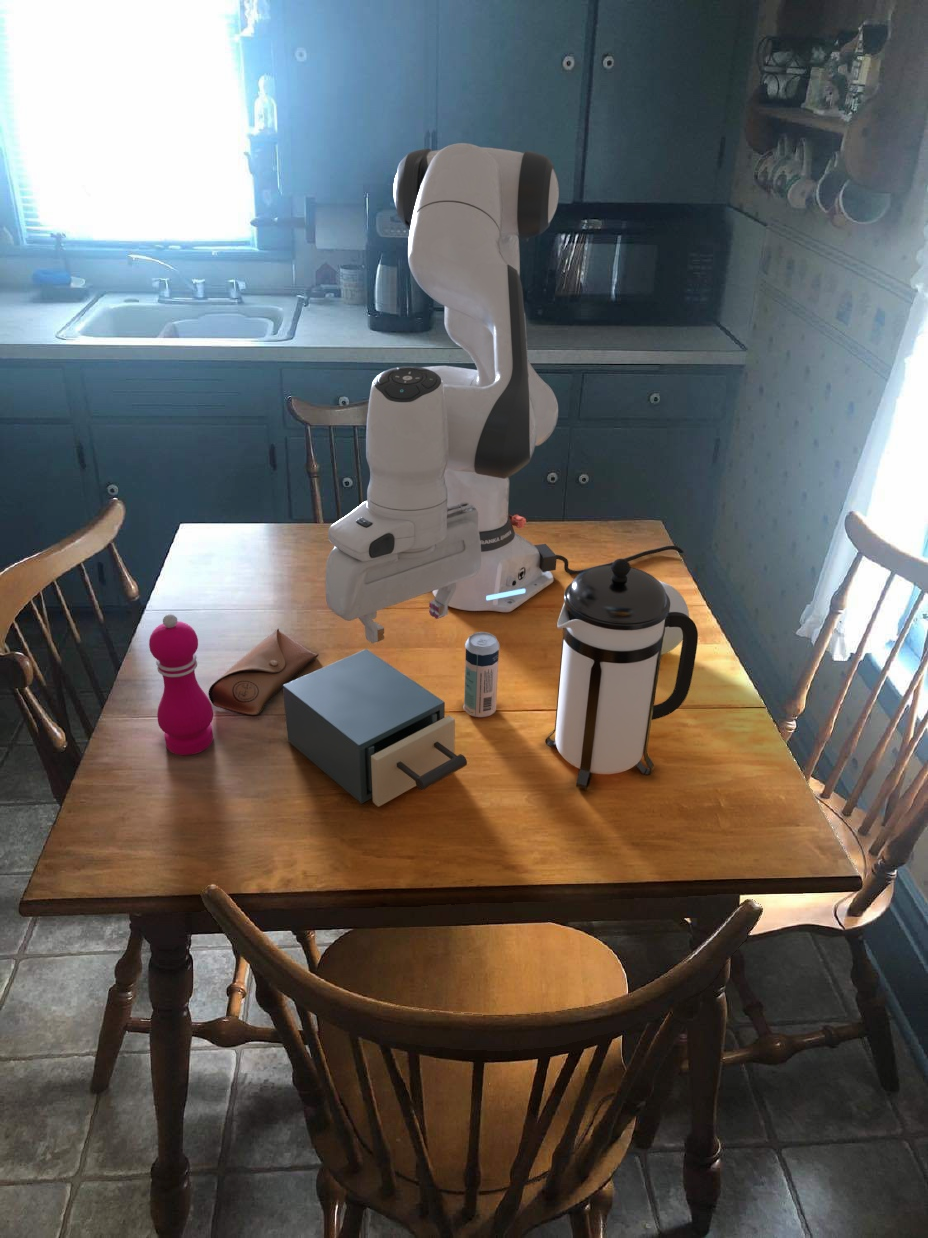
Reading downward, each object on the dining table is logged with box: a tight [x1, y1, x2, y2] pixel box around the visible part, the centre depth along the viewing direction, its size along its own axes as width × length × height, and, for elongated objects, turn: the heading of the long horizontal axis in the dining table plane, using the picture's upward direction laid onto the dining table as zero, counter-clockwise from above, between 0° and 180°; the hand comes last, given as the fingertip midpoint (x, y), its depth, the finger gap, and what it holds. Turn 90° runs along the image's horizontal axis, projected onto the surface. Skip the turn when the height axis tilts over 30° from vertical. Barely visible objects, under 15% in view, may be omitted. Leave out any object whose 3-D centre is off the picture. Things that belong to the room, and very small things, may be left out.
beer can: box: [463, 631, 501, 718], centre depth 133 cm, size 5×5×12 cm
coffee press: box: [544, 558, 699, 791], centre depth 121 cm, size 17×16×30 cm
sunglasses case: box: [207, 628, 319, 716], centre depth 141 cm, size 18×7×7 cm
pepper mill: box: [148, 613, 215, 756], centre depth 124 cm, size 7×7×20 cm
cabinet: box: [282, 648, 446, 805], centre depth 126 cm, size 17×14×9 cm
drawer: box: [365, 713, 468, 807], centre depth 122 cm, size 21×13×7 cm, turn 42°
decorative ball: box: [658, 580, 690, 656], centre depth 148 cm, size 12×12×12 cm
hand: (407, 627), depth 112 cm, fingers open, 8 cm apart
